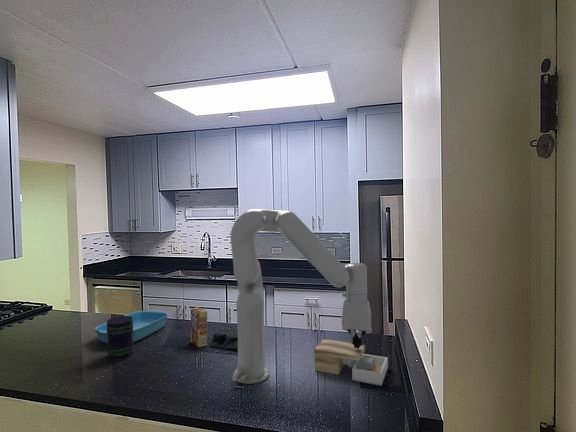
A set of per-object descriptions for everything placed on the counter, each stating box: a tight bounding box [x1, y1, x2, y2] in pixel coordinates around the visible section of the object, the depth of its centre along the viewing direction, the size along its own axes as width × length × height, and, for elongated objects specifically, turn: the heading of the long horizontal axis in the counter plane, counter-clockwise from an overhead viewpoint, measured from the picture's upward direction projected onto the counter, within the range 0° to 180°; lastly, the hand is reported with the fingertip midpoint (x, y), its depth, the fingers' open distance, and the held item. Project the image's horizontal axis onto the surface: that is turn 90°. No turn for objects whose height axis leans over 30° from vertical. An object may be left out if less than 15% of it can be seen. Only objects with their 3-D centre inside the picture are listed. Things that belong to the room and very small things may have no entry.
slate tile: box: [357, 358, 375, 369], centre depth 125 cm, size 5×5×2 cm
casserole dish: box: [94, 309, 169, 344], centre depth 169 cm, size 37×22×7 cm, turn 165°
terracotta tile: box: [365, 365, 382, 373], centre depth 124 cm, size 5×5×2 cm
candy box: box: [190, 307, 208, 348], centre depth 155 cm, size 9×4×15 cm, turn 39°
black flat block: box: [208, 332, 238, 352], centre depth 154 cm, size 15×22×5 cm
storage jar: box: [106, 315, 134, 361], centre depth 143 cm, size 10×10×15 cm
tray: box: [351, 353, 389, 386], centre depth 125 cm, size 14×10×4 cm
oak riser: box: [313, 338, 366, 375], centre depth 129 cm, size 11×16×8 cm, turn 66°
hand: (357, 347), depth 126 cm, fingers closed
